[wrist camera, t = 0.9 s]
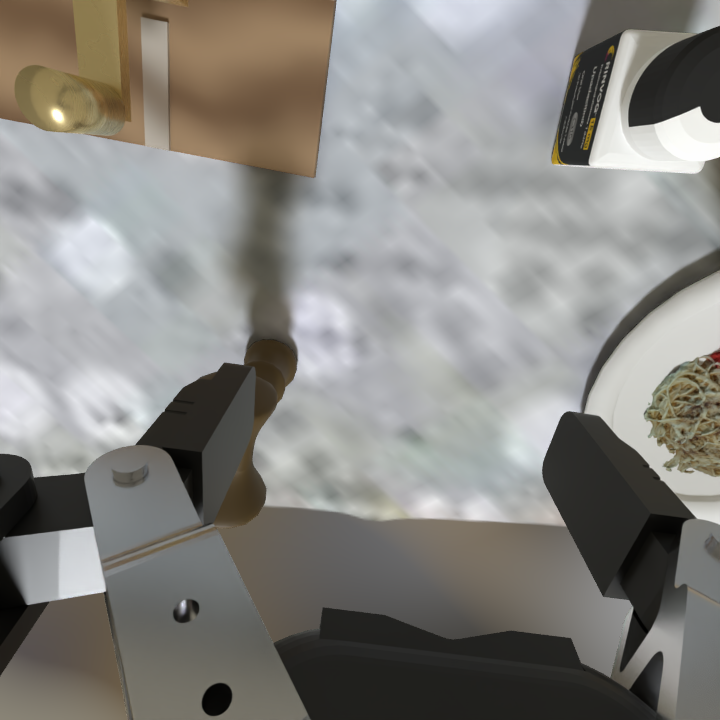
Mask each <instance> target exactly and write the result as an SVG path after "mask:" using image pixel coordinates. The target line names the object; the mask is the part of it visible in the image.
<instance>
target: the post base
mask: <svg viewBox="0 0 720 720" xmlns="http://www.w3.org/2000/svg"><path fill="white" fill-rule="evenodd" d="M335 9H336V0H188V7H184V6H179V5H174V4H169V3H164V2H160V1H155V0H126V14H127V35H128V57H129V78H130V100H131V121H132V122H128V121H125V124H124V126H123V128H122V129H121V131H120V132H118V133H117V134H115V135H111V136H104V135H91V134H86V135H91V136H97V137H102V138H107V139H112V140H118V141H123V142H128V143H133V144H139V145H144V146H148V147H153V148H158V149H163V150H169V151H175V152H181V153H186V154H191V155H196V156H202V157H207V158H212V159H218V160H223V161H228V162H233V163H239V164H244V165H249V166H254V167H260V168H265V169H270V170H275V171H281V172H286V173H291V174H296V175H302V176H307V177H312V178H315V176H316V167H317V159H318V151H319V142H320V134H321V126H322V117H323V109H324V101H325V92H326V84H327V76H328V67H329V59H330V50H331V42H332V34H333V25H334V17H335ZM30 65H40V66H44V67H47V68H51V69H55V70H58V71H62V72H66V73H69V74H73V75H77V76H79V68H78V57H77V46H76V34H75V23H74V12H73V0H0V118H2V119H7V120H12V121H18V122H23V123H28V124H32V123H31V122H30V121H29V120H28V119H27V118H26V117H25V116H24V114H23V113H22V111H21V110H20V108H19V106H18V104H17V101H16V98H15V92H14V85H15V80H16V77H17V75H18V73H19V72H20V71H21V70H22V69H23V68H25V67H27V66H30ZM33 125H34V124H33Z"/></svg>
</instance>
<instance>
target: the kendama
mask: <svg viewBox="0 0 720 720" xmlns="http://www.w3.org/2000/svg"><path fill="white" fill-rule="evenodd" d="M244 365H246V366H253V367H255V371H256V382H255V406H254V423H253V430H252V434H251V438H250V441H249V444H248V446H247V448H246V451H245V453H244V455H243V457H242V460H241V462H240V464H239V466H238V469H237V471H236V473H235V475H234V478H233V480H232V482H231V484H230V487H229V489H228V491H227V494H226V496H225V498H224V500H223V503H222V505H221V507H220V509H219V512H218V514H217V516H216V518H215V521H214V523H213V524H214V526H215V527H216V528H223V529H229V528H233V527H237V526H242V525H245V524H247V523H248V522H249V521H251V520H252V519H253V518H255V517H256V516H257V515H258V514H259V512H260V510H261V509H262V507H263V505H264V504H265V500H266V486H265V484H264V482H263V480H262V478H261V476H260V474H259V473H258V471H257V470H256V469H255V467H254V466H253V462H252V457H253V449H254V444H255V440H256V437H257V435H258V433H259V431H260V429H261V428H262V426H263V425H264V423H265V422H266V421H267V419H268V418H269V417H270V415H271V414H272V413H273V411H274V410H275V408H276V405H277V403H278V402H279V401H280V400H281V399H282V397H283V394H284V391H285V387H286V386H287V385H288V384H289V383H290V382H291V381H292V380H293V379H294V376H295V373H296V370H297V359H296V357H295V355H294V353H293V350H291V349H290V348H289V347H288V346H287V345H285V344H284V343H281V342H278V341H276V340H265V339H263V340H260V341H257V342H254V343H253V344H252V345H251V346H250V348H249V349H248V350H247V352H246V355H245V358H244ZM216 373H217V372H214V373H211V374H208V375H205V376H202V377H200V378H199V379H207V380H212V378H213V377H214V376H215V374H216Z"/></svg>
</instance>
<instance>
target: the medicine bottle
mask: <svg viewBox="0 0 720 720" xmlns="http://www.w3.org/2000/svg"><path fill="white" fill-rule="evenodd" d="M718 157H720V26H718V27H715V28H713V29H710V30H707V31H705V32H702V33H699V34H695V33H679V32H664V31H649V30H633V29H629V30H625V31H623V32H621V33H619V34H617V35H615V36H613V37H611V38H609V39H607V40H605V41H604V42H602V43H600V44H598V45H596V46H594V47H592V48H590V49H588V50H586V51H584V52H582V53H580V54H578V55H577V56H576V57H575V59H574V62H573V67H572V71H571V75H570V80H569V84H568V89H567V93H566V98H565V102H564V106H563V111H562V115H561V120H560V124H559V128H558V133H557V137H556V142H555V146H554V151H553V155H552V159H551V161H552V163H553V164H554V165H560V166H575V167H590V168H605V169H620V170H636V171H654V172H673V173H692V174H694V173H698V172H700V171H701V170H702V168H703V166H704V163H705V161H706V160H711V159H715V158H718Z"/></svg>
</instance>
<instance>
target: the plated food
mask: <svg viewBox="0 0 720 720" xmlns="http://www.w3.org/2000/svg"><path fill="white" fill-rule="evenodd" d="M584 414H591V415H597V416H600V417H601V418H602V419H603V420H604V421H605V423H606V424H607V425H608V426H609V427H610V428H611V430H612V431H613V432H614V433H615V434H616V435H617V436H618V438H619V439H621V440H622V441H624V442H625V443H626V444H628V445H629V446H631V447H632V448H633V449H635V450H636V451H637V452H638V453H639V454H640V455H641V456H642V457H643V458H644V460H645V461H646V462H647V463H648V464H649V465H650V466H649V467H650V468H652V469H653V470H654V471H655V472H656V473H657V474H658V475H659V476H660V480H661V481H664V482H665V483H666V484H667V485H668V487H669V488H670V489H671V490H672V491H673V492H674V493H675V494H676V496H677V497H678V498H679V499H680V500H681V501H682V502H683V503H684V505H685V506H686V507H687V508H688V509H689V510H690V511H691V512H692V514H693V515H694V516H695V517H696V518H697V519H702V520H707V521H711V522H714V523H717V524H719V525H720V270H719V271H717V272H715V273H713V274H711V275H709V276H707V277H705V278H703V279H701V280H699V281H698V282H696V283H694V284H692V285H690V286H688V287H686V288H684V289H682V290H681V291H679V292H678V293H676V294H675V295H674V296H672V297H671V298H669V299H668V300H667V301H665V302H664V303H663V304H661V305H660V306H658V307H657V308H656V309H654V310H653V311H652V312H650V313H649V314H648V315H647V316H646V317H645V318H644V319H643V320H642V321H641V322H640V323H639V324H638V325H637V326H636V327H635V328H634V329H633V330H631V331H630V332H629V333H628V334H627V335H626V336H625V337H624V338H623V339H622V341H621V342H620V343H619V345H618V346H617V347H616V349H615V350H614V351H613V353H612V354H611V356H610V357H609V358H608V360H607V361H606V362H605V364H604V365H603V366H602V368H601V370H600V372H599V374H598V376H597V378H596V380H595V383H594V385H593V387H592V389H591V391H590V393H589V395H588V399H587V403H586V407H585V411H584Z"/></svg>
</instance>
